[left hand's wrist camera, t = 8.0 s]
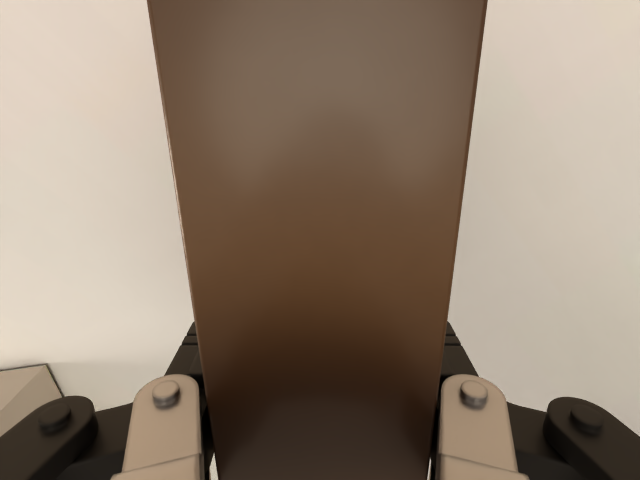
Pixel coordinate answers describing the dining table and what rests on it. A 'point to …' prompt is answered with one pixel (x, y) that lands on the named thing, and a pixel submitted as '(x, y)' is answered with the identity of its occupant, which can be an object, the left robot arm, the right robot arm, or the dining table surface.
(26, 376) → the decorative block
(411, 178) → the beam
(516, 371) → the dining table surface
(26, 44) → the dining table surface
